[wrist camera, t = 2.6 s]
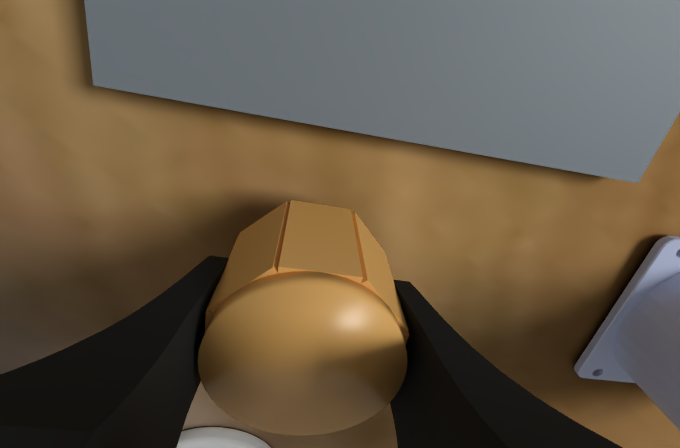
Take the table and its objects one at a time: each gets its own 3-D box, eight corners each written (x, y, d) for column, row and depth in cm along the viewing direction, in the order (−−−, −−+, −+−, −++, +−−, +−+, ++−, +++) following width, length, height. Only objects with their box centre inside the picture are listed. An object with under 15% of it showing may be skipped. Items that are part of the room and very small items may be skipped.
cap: (397, 216, 12) (433, 301, 8) (364, 331, 15) (380, 442, 11) (241, 192, 12) (199, 272, 8) (232, 316, 14) (196, 428, 10)
